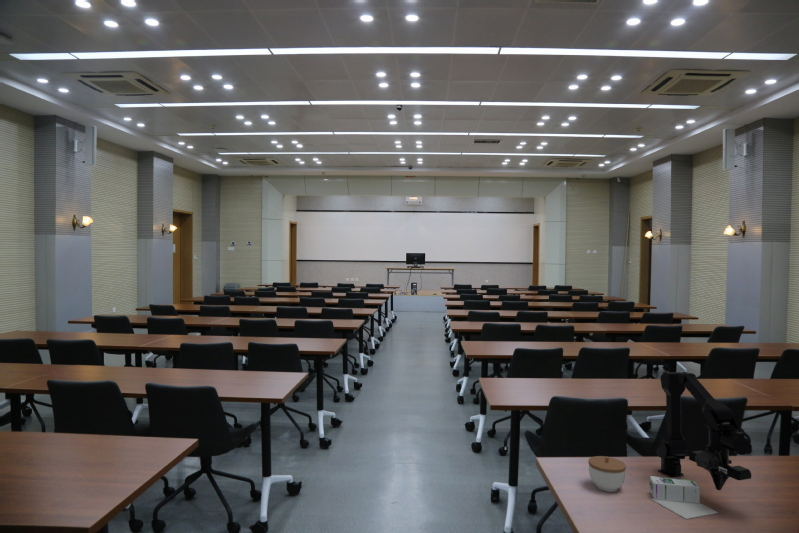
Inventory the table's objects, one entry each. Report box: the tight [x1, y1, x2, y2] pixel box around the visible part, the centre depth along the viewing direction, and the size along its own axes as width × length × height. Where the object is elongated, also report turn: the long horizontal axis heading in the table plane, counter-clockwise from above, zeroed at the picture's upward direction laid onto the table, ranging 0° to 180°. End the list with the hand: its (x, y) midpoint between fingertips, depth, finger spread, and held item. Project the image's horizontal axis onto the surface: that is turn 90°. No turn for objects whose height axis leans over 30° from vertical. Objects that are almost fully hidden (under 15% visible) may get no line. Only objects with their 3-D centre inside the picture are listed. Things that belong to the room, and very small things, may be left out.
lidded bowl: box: [588, 455, 627, 493], centre depth 179 cm, size 13×13×11 cm
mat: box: [649, 497, 719, 520], centre depth 165 cm, size 14×14×1 cm
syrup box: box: [648, 475, 701, 503], centre depth 171 cm, size 6×6×14 cm
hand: (718, 489), depth 167 cm, fingers closed
